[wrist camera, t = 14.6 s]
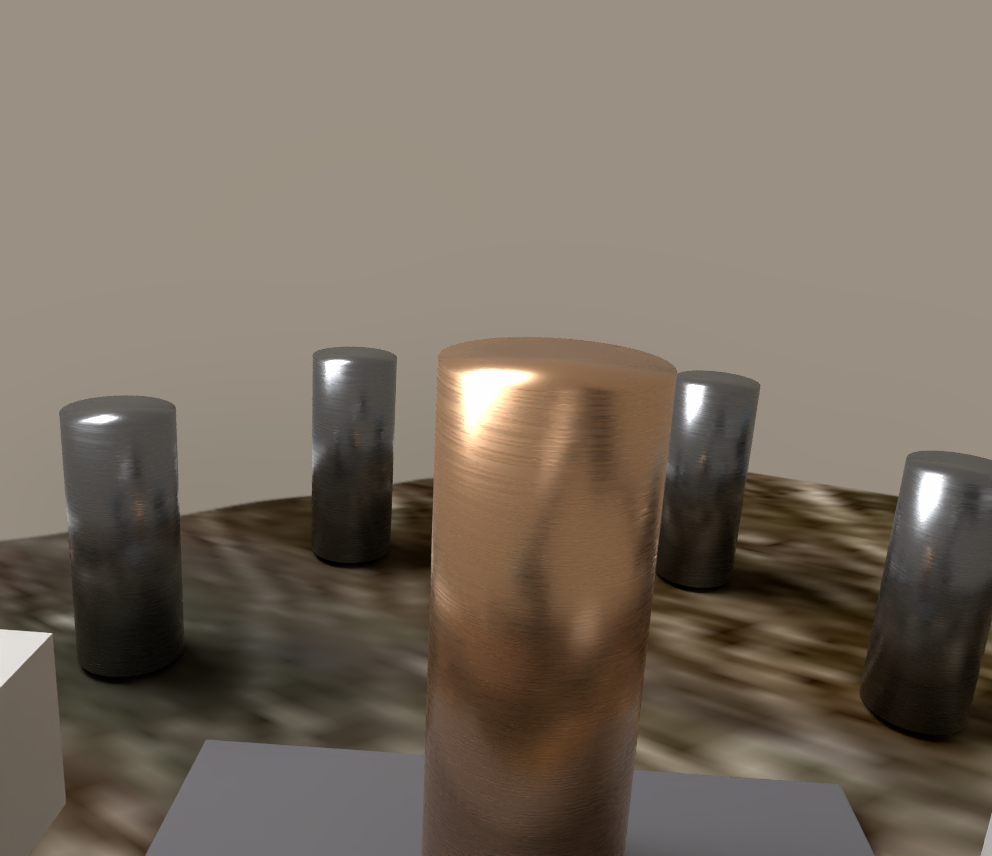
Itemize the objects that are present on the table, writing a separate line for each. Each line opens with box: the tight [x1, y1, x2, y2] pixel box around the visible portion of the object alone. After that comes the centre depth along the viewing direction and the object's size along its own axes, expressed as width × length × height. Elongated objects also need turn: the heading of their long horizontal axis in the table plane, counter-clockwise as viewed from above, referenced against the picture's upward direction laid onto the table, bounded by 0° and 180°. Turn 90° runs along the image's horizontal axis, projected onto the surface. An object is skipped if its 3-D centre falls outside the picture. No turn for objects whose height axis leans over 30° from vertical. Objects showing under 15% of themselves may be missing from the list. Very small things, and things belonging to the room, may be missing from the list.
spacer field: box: [59, 347, 992, 735], centre depth 34 cm, size 28×12×8 cm, turn 89°
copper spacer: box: [421, 337, 677, 856], centre depth 19 cm, size 4×4×12 cm
